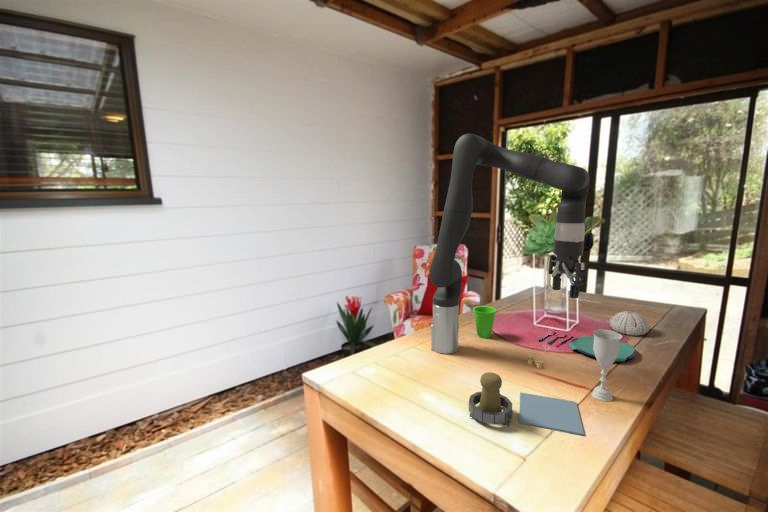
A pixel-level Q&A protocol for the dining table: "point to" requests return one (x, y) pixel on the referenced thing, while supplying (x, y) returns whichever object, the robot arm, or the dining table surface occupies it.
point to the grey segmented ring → (490, 416)
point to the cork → (490, 392)
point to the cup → (484, 320)
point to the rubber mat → (550, 413)
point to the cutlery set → (586, 347)
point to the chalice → (605, 358)
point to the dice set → (531, 358)
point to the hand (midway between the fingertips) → (564, 293)
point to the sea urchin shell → (629, 323)
